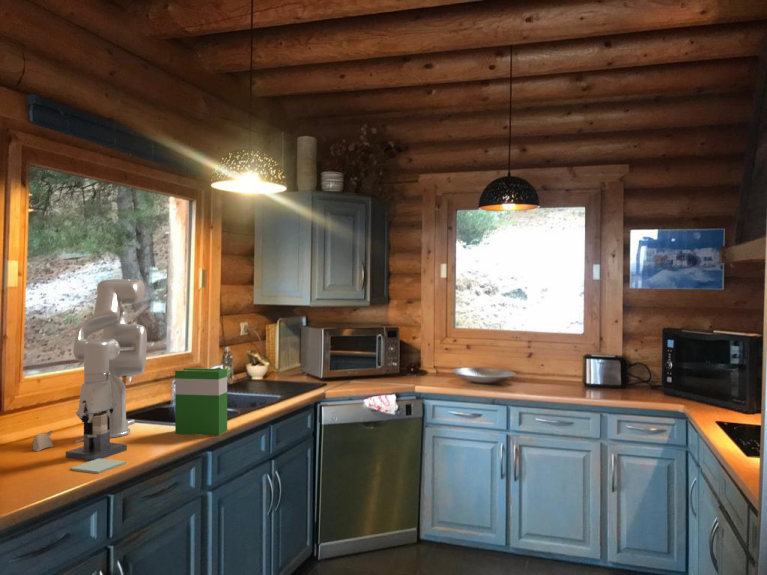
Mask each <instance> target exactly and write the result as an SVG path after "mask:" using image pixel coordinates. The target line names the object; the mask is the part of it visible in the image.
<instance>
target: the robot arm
mask: <svg viewBox="0 0 767 575" xmlns="http://www.w3.org/2000/svg"><path fill="white" fill-rule="evenodd" d="M96 292H97V296H96V301H95V306H94V312H93V314H92V315H91V316H89V317H88V318H86V320H85V321H83V322H82V323H81V325H80V326H79V327H78V329H77V331H76V334H75V338H74V343H73V348H72V349H73V356H74V358H75V360H77V361H80V362H83V383H82V384H81V386H80V387H81V388H80V392H79V401H78V402H79V404H78V410H77V411H76V412H75V415H76V416H77V417H78V418H79V419H80V420H81V422H82V423H83V435H84V434H87V435H92V434H93V423H92V422H91V420H92V417H93V414H94V413H107V432H110V439H111V438H119V437H124V436H127V435H129V434H130V433H131V428H129V427H130V426H133V425H135V423H136V421H135V419H129V420H128V419H127V409H126V408H127V406H126V405H127V388H126V384H125V383H124V381H123V380H122V379H121V378H120V377H123V376H124V377H125V376H140V375H142V374H143V373H144V372H145V370H146V365H147V363H146V362H147V348H148V346H147V345H148V334H147V329H146V327H145V326H144V325H142V324H138V323H137V324H134V323H133V324H129V323H128V322H129V321H128V319H129V315H128V311H127V310H126V309H125V308H124V307H123V306H122V305H137V304H140V302H141V301H142V300H143V299H144V297H145V294H146V287H145V284H144V282H143V280H141V279H119V278H118V279H117V278H116V279H115V278H114V279H105V280H101V281H99V282H98V284H97V286H96ZM101 330H102V338H89V337H90V336H91V335H93V334H94V333H96V332H99V331H101ZM125 349H126V350H125ZM130 349H132V350H130ZM88 415H89V416H88ZM87 416H88V418H87Z"/></svg>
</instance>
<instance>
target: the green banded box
mask: <svg viewBox="0 0 767 575" xmlns="http://www.w3.org/2000/svg"><path fill="white" fill-rule="evenodd" d="M174 389H175V390H174V392H175V393H174V396H175V397H174V399H175V400H174V402H175V403H174V404H175V405H174V406H175V408H174V410H175V411H174V418H175V419H174V420H175V421H174V422H175V424H174V426H175V431H174V432H175V434H176V435H195V434H202V435H203V436H221V435H222V434H224V433H226V432H227V431H228V368H205V367H204V368H195V367H194V368H193V367H192V368H191V367H188V368H187V367H186V368H185V367H184V368H183V370H181V369H179V370H174Z"/></svg>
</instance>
